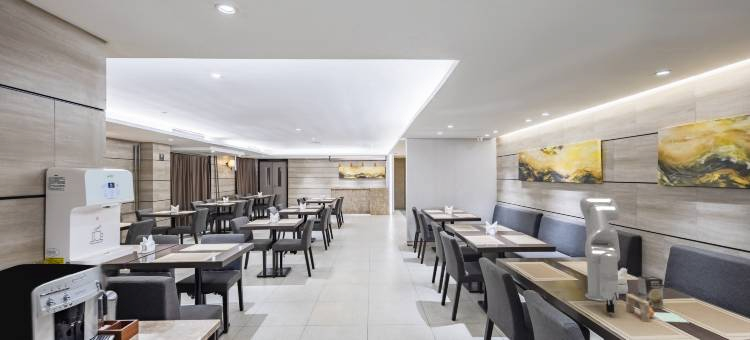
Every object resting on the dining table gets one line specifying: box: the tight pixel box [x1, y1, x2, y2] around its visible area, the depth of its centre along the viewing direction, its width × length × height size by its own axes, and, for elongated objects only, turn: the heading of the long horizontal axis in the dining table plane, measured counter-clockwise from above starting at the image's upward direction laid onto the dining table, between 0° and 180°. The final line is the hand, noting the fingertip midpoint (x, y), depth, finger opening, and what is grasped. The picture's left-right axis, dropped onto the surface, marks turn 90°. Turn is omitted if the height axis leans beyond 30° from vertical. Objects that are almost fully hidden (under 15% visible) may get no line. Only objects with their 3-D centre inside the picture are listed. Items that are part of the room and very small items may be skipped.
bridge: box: [625, 293, 651, 323], centre depth 180 cm, size 3×14×9 cm, turn 172°
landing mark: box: [652, 311, 690, 323], centre depth 178 cm, size 12×12×1 cm
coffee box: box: [637, 276, 664, 310], centre depth 193 cm, size 9×6×16 cm
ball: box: [649, 307, 655, 318], centre depth 178 cm, size 6×6×6 cm
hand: (610, 312), depth 182 cm, fingers closed
